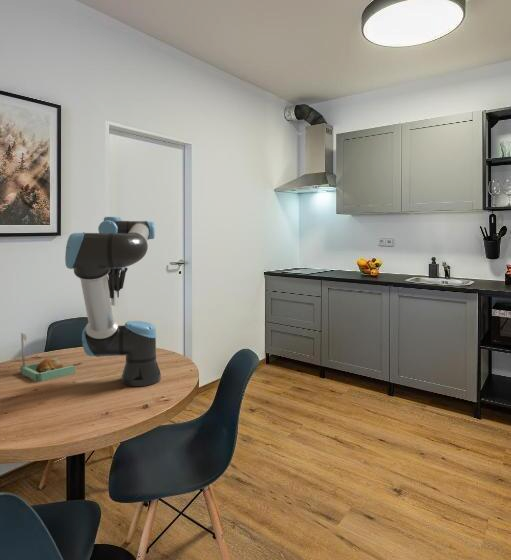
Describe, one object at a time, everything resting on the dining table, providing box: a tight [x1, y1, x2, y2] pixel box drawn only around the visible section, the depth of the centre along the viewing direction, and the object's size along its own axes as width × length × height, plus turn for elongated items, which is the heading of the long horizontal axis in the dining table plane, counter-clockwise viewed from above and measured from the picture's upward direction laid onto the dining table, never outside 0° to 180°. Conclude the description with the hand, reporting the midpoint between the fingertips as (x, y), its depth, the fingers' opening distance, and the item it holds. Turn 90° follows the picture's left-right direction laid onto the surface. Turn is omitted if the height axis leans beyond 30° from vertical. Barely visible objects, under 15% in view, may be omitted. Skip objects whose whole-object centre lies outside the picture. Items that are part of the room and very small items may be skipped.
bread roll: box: [36, 357, 64, 373], centre depth 173 cm, size 10×10×8 cm
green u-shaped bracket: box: [19, 332, 76, 383], centre depth 172 cm, size 16×15×17 cm
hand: (114, 305), depth 185 cm, fingers closed
